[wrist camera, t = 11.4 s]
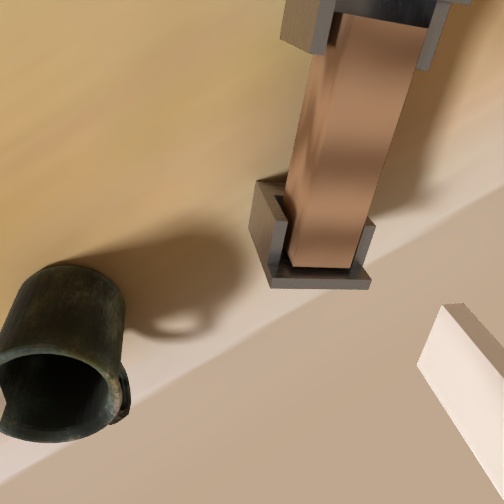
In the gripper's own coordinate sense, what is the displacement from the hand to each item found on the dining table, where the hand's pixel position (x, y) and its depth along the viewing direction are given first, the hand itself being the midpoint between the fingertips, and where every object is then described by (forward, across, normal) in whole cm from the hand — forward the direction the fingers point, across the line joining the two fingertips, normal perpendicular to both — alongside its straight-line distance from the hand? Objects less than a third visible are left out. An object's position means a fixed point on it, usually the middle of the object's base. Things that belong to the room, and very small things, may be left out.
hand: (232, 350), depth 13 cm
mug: (+27, -10, -22) cm, 36 cm away
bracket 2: (+28, +12, +7) cm, 31 cm away
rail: (+24, +11, -2) cm, 27 cm away
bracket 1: (+27, +11, -9) cm, 31 cm away
